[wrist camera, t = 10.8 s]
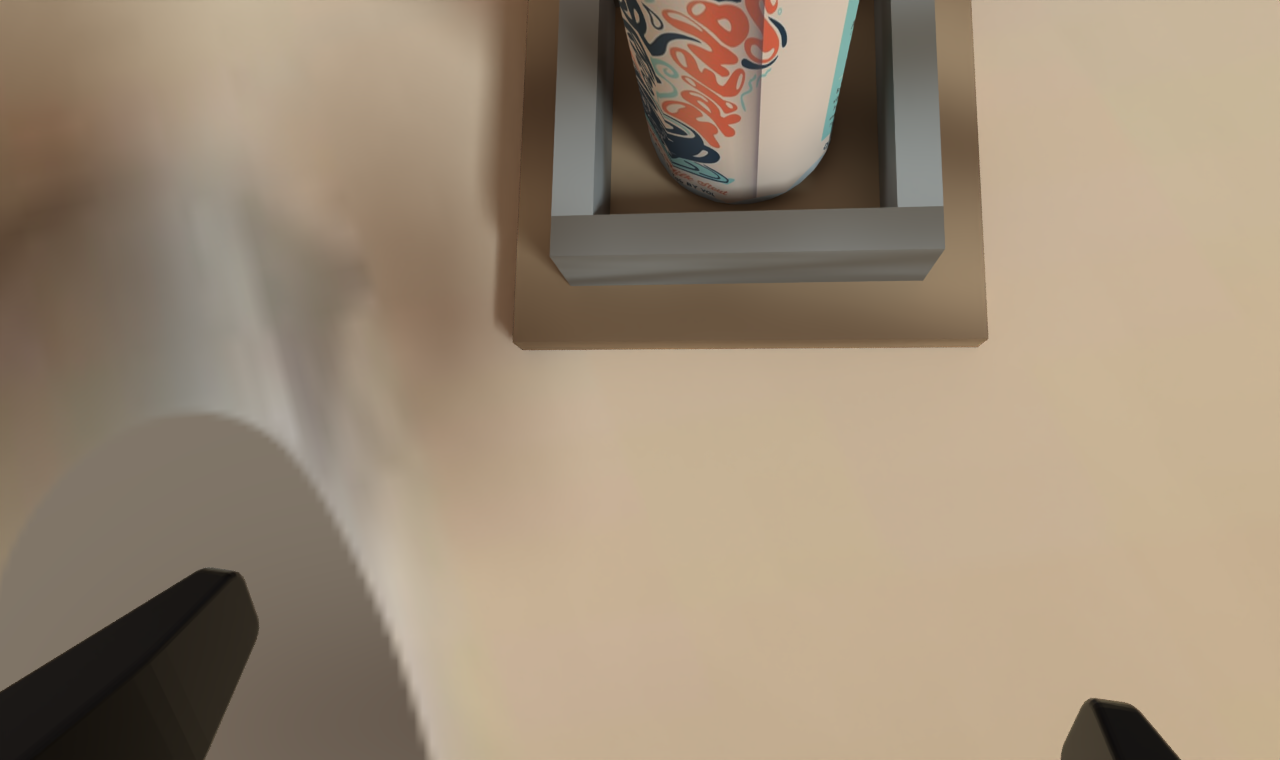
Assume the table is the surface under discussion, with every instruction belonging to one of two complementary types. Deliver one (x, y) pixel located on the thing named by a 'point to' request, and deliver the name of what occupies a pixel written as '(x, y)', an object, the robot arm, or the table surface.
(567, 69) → the socket board
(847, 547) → the table surface
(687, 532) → the table surface
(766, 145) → the beer can
